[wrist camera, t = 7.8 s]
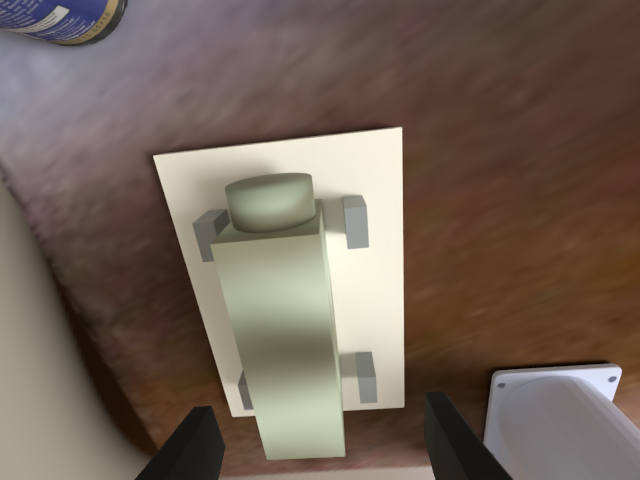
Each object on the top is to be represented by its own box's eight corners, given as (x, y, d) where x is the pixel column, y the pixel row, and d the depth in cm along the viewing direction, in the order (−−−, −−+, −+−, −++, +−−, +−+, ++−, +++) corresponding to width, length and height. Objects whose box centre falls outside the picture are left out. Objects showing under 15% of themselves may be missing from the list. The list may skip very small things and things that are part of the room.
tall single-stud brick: (341, 377, 20) (345, 456, 15) (280, 381, 20) (266, 460, 16) (318, 166, 15) (314, 190, 10) (238, 175, 15) (198, 202, 11)
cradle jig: (401, 394, 22) (411, 435, 19) (236, 404, 23) (223, 445, 20) (397, 126, 15) (413, 129, 12) (163, 153, 16) (128, 161, 13)
